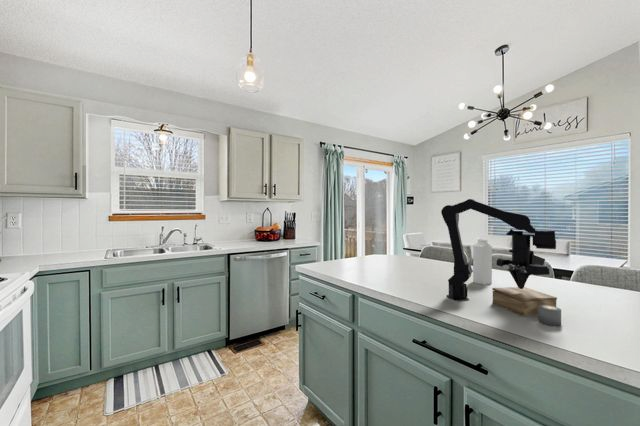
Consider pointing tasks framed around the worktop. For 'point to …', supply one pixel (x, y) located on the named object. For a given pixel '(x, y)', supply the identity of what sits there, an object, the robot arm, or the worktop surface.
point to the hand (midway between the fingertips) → (520, 288)
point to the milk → (482, 262)
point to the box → (520, 304)
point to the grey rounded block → (549, 315)
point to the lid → (524, 294)
